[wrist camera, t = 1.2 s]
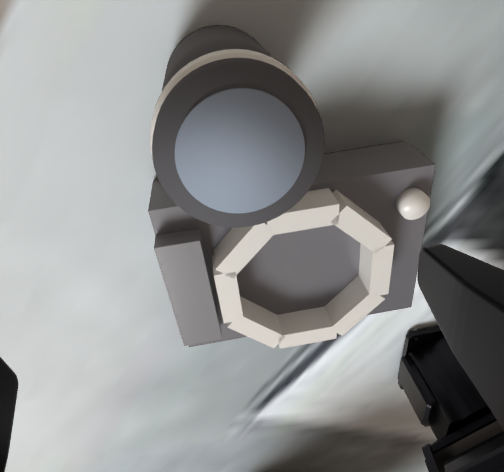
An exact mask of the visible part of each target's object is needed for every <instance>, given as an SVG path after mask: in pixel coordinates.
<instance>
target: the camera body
mask: <svg viewBox="0 0 504 472" xmlns="http://www.w3.org/2000/svg"><path fill="white" fill-rule="evenodd" d="M434 171H435V164H434V163H433V162H432V161H430V160H429V159H428V158H426V157H425V156H424V155H423V154H421V153H420V152H419V151H417V150H416V149H415V148H414V147H412V146H411V145H410V144H408V143H407V142H406V141H403V142H396V143H390V144H384V145H377V146H371V147H365V148H358V149H352V150H346V151H339V152H333V153H327V154H323V159H322V163H321V166H320V169H319V172H318V175H317V177H316V179H315V181H314V183H313V184H312V186H311V187H310V189H309V190H308V192H307V193H306V194H305V195H304V197H303V198H302V199H301V200H300V201H299V202H298V203H297V204H296V205H295V206H293V207H292V208H291V209H290V210H288V211H287V212H285V213H284V214H282V215H280V216H279V217H277V218H275V219H272V220H270V221H268V222H265V223H262V224H259V225H254V226H249V227H240V228H230V227H221V226H216V225H212V224H209V223H206V222H203V221H200V220H198V219H196V218H194V217H192V216H191V215H189V214H188V213H186V212H185V211H183V210H182V209H181V208H180V207H178V206H177V205H176V204H175V203H174V202H173V201H172V199H171V198H170V197H169V196H168V195H167V193H166V192H165V190H164V189H163V187H162V185H161V183H160V181H159V180H155V181H153V185H152V191H151V197H150V204H149V210H148V212H149V215H150V218H151V222H152V225H153V228H154V232H155V235H156V237H155V245H154V249H155V253H156V256H157V259H158V262H159V266H160V269H161V272H162V275H163V279H164V282H165V285H166V288H167V291H168V295H169V298H170V301H171V304H172V308H173V311H174V314H175V317H176V321H177V324H178V327H179V330H180V333H181V337H182V340H183V343H184V346H186V345H189V347H193V346H198V345H204V344H209V343H215V342H220V341H226V340H231V339H237V338H242V337H250V338H252V339H254V340H256V341H259V342H261V343H263V344H265V345H268V346H270V347H272V348H275V347H276V346H277V345H278V344H279V347H280V349H282V348H287V347H293V346H298V345H304V344H309V343H314V342H320V341H325V340H331V339H336V336H337V333H338V334H340V335H342V336H343V335H344V334H345V333H346V332H347V331H349V330H350V329H351V328H352V327H353V326H354V325H356V324H357V323H358V322H359V321H360V320H361V319H363V318H364V317H365V316H366V315H369V314H375V313H380V312H386V311H392V310H397V309H403V308H408V307H411V305H412V299H413V293H414V288H415V282H416V276H417V270H418V264H419V253H420V250H421V247H422V241H423V235H424V229H425V223H426V218H427V212H428V209H429V207H430V194H431V188H432V183H433V177H434Z"/></svg>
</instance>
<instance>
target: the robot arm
mask: <svg viewBox="0 0 504 472" xmlns="http://www.w3.org/2000/svg"><path fill="white" fill-rule="evenodd" d="M418 284H419V287H420V289H421V291H422V293H423V295H424V297H425V299H426V301H427V303H428V305H429V307H430V309H431V311H432V313H433V315H434V317H435V319H436V321H437V323H438V325H439V326H438V327H433V328H428V329H422V330H417V331H412V332H410V333H408V334H407V336H406V339H405V345H404V351H403V356H402V358H401V361H400V367H399V373H398V384H399V386H400V388H401V389H404V391H405V393H406V395H407V397H408V399H409V401H410V403H411V405H412V407H413V409H414V411H415V413H416V414H417V416H418V418H419V420H420V422H421V424H422V425H424V426H425V427H427V426H430V427H431V429H432V431H433V432H434V434H435V436H436V438H437V441H435V442H433V443H432V444H429V443H428V444H426V445H425V446H423V447H422V450H423V453H424V456H425V458H426V459H425V462H426V465H427V468H428V471H429V472H504V270H502V269H500V268H497V267H495V266H492V265H490V264H488V263H485V262H483V261H481V260H478V259H476V258H474V257H471V256H469V255H467V254H464V253H462V252H460V251H457V250H455V249H453V248H450V247H448V246H446V245H443V244H436V245H432V246H428V247H424V248H422V249H421V250H420V253H419V264H418ZM17 391H18V379H17V376H16V374H15V373H14V372H13V371H12V369H11V368H10V367H9V366H8V365H7V364H6V363H5V362H4V360H3V359H2V358H1V357H0V472H5V467H6V463H7V458H8V452H9V446H10V440H11V433H12V426H13V419H14V412H15V405H16V398H17Z"/></svg>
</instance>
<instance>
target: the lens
mask: <svg viewBox="0 0 504 472" xmlns="http://www.w3.org/2000/svg"><path fill="white" fill-rule="evenodd" d="M150 148H151V154H152V159H153V163H154V168H155V171H156V174H157V177H158V179H159V181H160V183H161V185H162V187H163V189H164V190H165V192H166V193H167V195H168V196H169V197H170V198H171V199H172V201H173V202H174V203H175V204H176V205H177V206H178V207H180V208H181V209H182V210H183V211H185V212H186V213H188V214H189V215H191V216H192V217H194V218H196V219H198V220H200V221H203V222H206V223H209V224H212V225H216V226H221V227H230V228H240V227H249V226H254V225H259V224H262V223H265V222H268V221H270V220H272V219H275V218H277V217H279V216H280V215H282V214H284V213H285V212H287V211H288V210H290V209H291V208H292V207H293V206H295V205H296V204H297V203H298V202H299V201H300V200H301V199H302V198H303V197H304V195H305V194H306V193H307V192H308V190H309V189H310V187H311V186H312V184H313V183H314V181H315V179H316V177H317V175H318V172H319V169H320V166H321V163H322V159H323V154H324V130H323V125H322V121H321V118H320V115H319V112H318V110H317V107H316V104H315V101H314V100H313V98H312V96H311V94H310V92H309V91H308V89H307V88H306V87H305V85H304V84H303V82H302V81H301V80H300V79H299V78H298V77H297V76H296V75H295V74H294V73H293V72H292V71H291V70H290V69H288V68H287V67H286V66H284V65H283V64H282V63H280V62H279V61H277V60H275V59H274V58H272V57H271V56H270V55H269V54H268V53H267V51H266V50H265V49H264V48H263V47H262V46H261V45H260V44H259V43H258V42H257V41H256V40H255V39H254V38H252V37H251V36H250V35H248V34H247V33H245V32H243V31H241V30H239V29H236V28H234V27H230V26H223V25H215V26H208V27H204V28H201V29H198V30H196V31H194V32H192V33H191V34H189V35H188V36H187V37H185V38H184V39H183V40H182V41H181V42H180V43H179V44H178V46H177V47H176V48H175V50H174V51H173V53H172V55H171V57H170V60H169V62H168V65H167V70H166V74H165V79H164V84H163V89H162V93H161V95H160V97H159V99H158V102H157V104H156V107H155V111H154V115H153V119H152V124H151V131H150Z"/></svg>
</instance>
